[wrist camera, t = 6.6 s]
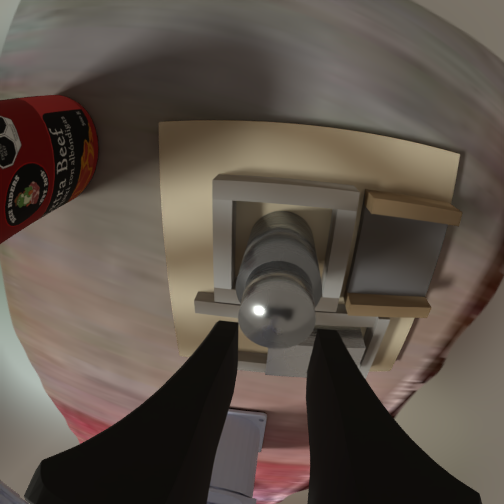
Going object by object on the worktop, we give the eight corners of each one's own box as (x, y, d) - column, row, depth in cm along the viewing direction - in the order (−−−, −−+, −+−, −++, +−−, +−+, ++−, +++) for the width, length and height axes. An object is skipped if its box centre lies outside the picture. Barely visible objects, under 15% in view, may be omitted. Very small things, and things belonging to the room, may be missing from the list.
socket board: (387, 362, 21) (394, 387, 19) (183, 347, 23) (173, 372, 20) (451, 151, 14) (476, 160, 11) (165, 121, 15) (144, 123, 13)
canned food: (89, 215, 18) (-24, 302, 9) (21, 178, 18) (-83, 233, 8) (117, 110, 15) (-36, 137, 5) (39, 85, 14) (-86, 106, 4)
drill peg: (309, 271, 17) (317, 358, 11) (248, 266, 18) (227, 350, 11) (317, 214, 16) (335, 283, 9) (251, 208, 16) (226, 273, 10)
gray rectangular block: (348, 354, 20) (353, 378, 18) (267, 349, 20) (265, 374, 18) (359, 323, 19) (365, 348, 16) (271, 317, 19) (268, 343, 17)
